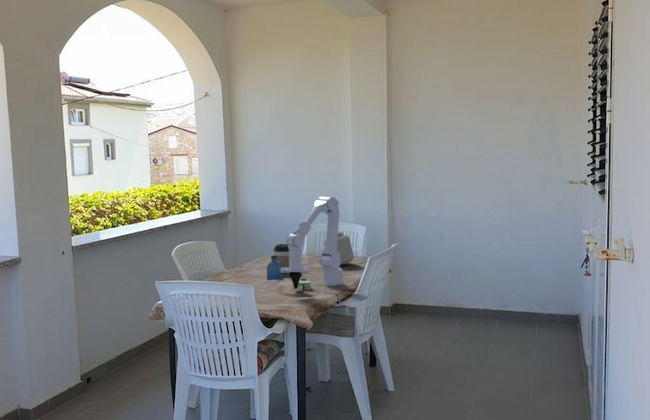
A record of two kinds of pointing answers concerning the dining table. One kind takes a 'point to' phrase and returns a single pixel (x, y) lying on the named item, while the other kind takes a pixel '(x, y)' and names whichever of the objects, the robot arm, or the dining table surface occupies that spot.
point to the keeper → (306, 283)
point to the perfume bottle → (274, 269)
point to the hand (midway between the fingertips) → (296, 288)
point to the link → (301, 287)
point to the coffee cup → (282, 255)
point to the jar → (344, 248)
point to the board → (290, 289)
